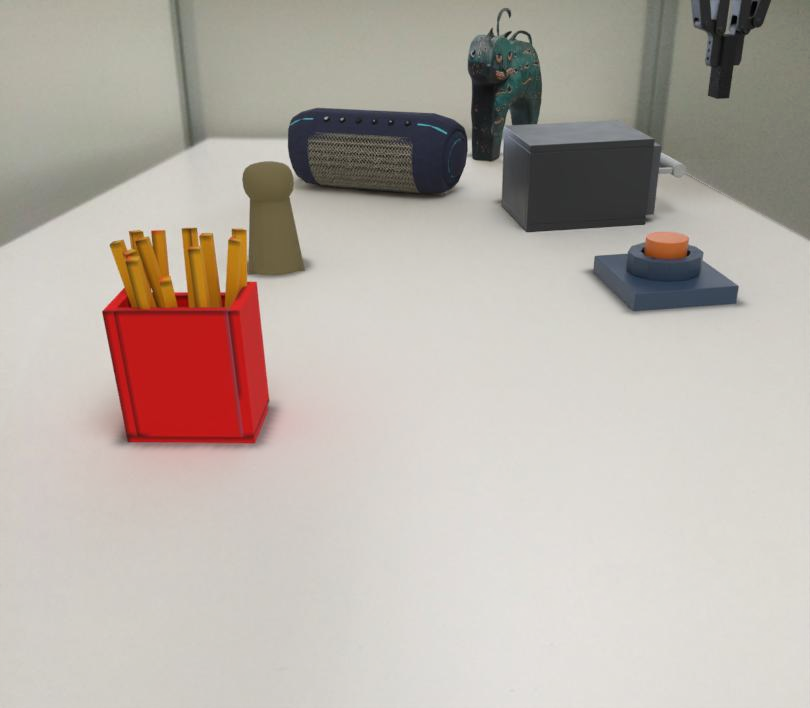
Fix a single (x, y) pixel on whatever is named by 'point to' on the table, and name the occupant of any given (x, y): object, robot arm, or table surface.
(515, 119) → the green animal figurine
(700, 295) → the control block
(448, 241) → the table surface
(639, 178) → the grey box
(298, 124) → the portable speaker
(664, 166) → the drawer
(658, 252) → the button
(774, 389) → the table surface
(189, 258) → the french fries container
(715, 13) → the robot arm
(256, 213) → the cork
